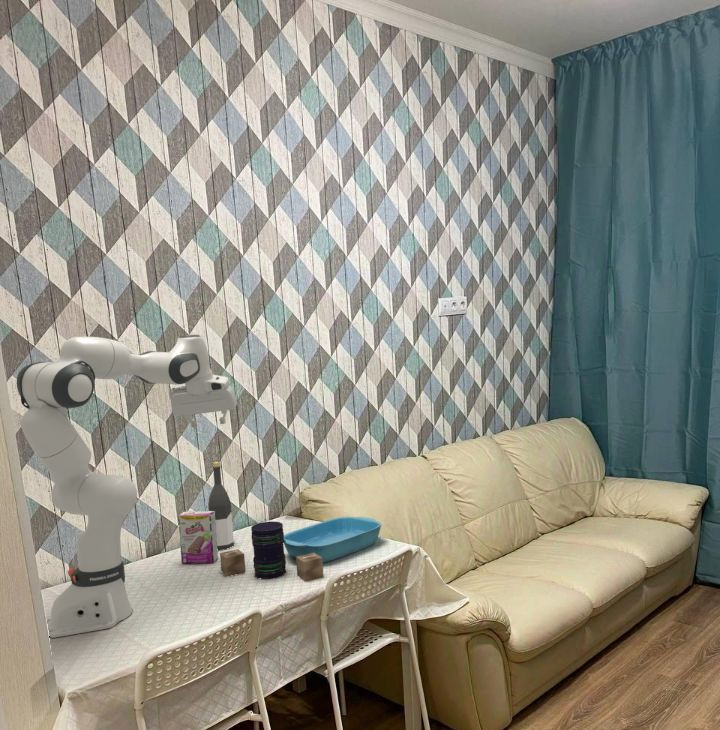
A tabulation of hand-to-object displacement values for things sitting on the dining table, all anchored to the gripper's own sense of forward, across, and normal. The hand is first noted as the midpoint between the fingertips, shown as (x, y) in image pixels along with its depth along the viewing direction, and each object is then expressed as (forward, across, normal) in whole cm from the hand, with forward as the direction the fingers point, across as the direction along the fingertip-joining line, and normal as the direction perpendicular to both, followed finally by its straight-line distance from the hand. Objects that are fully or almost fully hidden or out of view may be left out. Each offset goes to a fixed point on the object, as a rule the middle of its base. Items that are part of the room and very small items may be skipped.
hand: (208, 425), depth 223 cm
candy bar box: (+46, -11, -5) cm, 47 cm away
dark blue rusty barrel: (+44, +15, -19) cm, 50 cm away
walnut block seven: (+44, +3, -16) cm, 47 cm away
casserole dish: (+50, +33, +1) cm, 60 cm away
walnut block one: (+44, +28, -23) cm, 57 cm away
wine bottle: (+49, -7, +10) cm, 51 cm away
